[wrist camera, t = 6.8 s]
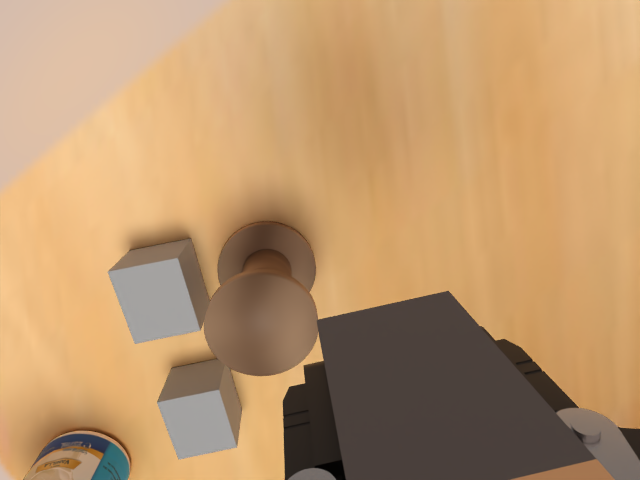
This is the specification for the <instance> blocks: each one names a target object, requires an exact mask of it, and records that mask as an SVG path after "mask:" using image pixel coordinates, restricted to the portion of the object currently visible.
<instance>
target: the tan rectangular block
mask: <svg viewBox="0 0 640 480" xmlns="http://www.w3.org/2000/svg"><path fill="white" fill-rule="evenodd" d="M316 321H317V326H318V332H319V337H320V343H321V348H322V353H323V359H324V364H325V369H326V375H327V380H328V386H329V391H330V396H331V402H332V407H333V413H334V418H335V423H336V429H337V434H338V440H339V445H340V450H341V456H342V461H343V466H344V472H345V477H346V480H615V479H614V478H613V477H612V476H611V475H610V474H609V472H608V471H607V470H606V469H605V468H604V467H603V466H602V465H601V463H600V462H599V461H598V460H597V459H596V458H595V457H594V455H593V454H592V453H591V452H590V451H589V450H588V449H587V448H586V446H585V445H584V444H583V443H582V442H581V441H580V440H579V438H578V437H577V436H576V435H575V434H574V433H573V432H572V431H571V429H570V428H569V427H568V426H567V425H566V424H565V423H564V421H563V420H562V419H561V418H560V417H559V416H558V415H557V413H556V412H555V411H554V410H553V409H552V408H551V407H550V406H549V404H548V403H547V402H546V401H545V400H544V399H543V398H542V396H541V395H540V394H539V393H538V392H537V391H536V390H535V389H534V387H533V386H532V385H531V384H530V383H529V382H528V381H527V379H526V378H525V377H524V376H523V375H522V374H521V373H520V372H519V370H518V369H517V368H516V367H515V366H514V365H513V364H512V362H511V361H510V360H509V359H508V358H507V357H506V356H505V354H504V353H503V352H502V351H501V350H500V349H499V348H498V347H497V345H496V344H495V343H494V342H493V341H492V340H491V339H490V337H489V336H488V335H487V334H486V333H485V332H484V331H483V330H482V328H481V327H480V326H479V325H478V324H477V323H476V322H475V320H474V319H473V318H472V317H471V316H470V315H469V314H468V313H467V311H466V310H465V309H464V308H463V307H462V306H461V305H460V303H459V302H458V301H457V300H456V299H455V298H454V297H453V296H452V294H451V293H450V292H449V291H446V292H441V293H437V294H432V295H428V296H423V297H419V298H414V299H410V300H405V301H401V302H396V303H392V304H387V305H383V306H378V307H374V308H369V309H365V310H360V311H356V312H351V313H347V314H342V315H337V316H333V317H328V318H324V319H319V320H316Z"/></svg>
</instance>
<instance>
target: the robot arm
mask: <svg viewBox="0 0 640 480" xmlns="http://www.w3.org/2000/svg"><path fill="white" fill-rule="evenodd" d="M480 327H481V328H482V330H483V331H484V332H485V333H486V334H487V335H488V336H489V337H490V339H491V340H492V341H493V342H494V343H495V344H496V345H497V347H498V348H499V349H500V350H501V351H502V352H503V353H504V354H505V356H506V357H507V358H508V359H509V360H510V361H511V362H512V364H513V365H514V366H515V367H516V368H517V369H518V370H519V372H520V373H521V374H522V375H523V376H524V377H525V378H526V379H527V381H528V382H529V383H530V384H531V385H532V386H533V387H534V389H535V390H536V391H537V392H538V393H539V394H540V395H541V396H542V398H543V399H544V400H545V401H546V402H547V403H548V404H549V406H550V407H551V408H552V409H553V410H554V411H555V412H556V413H557V415H558V416H559V417H560V418H561V419H562V420H563V421H564V423H565V424H566V425H567V426H568V427H569V428H570V429H571V431H572V432H573V433H574V434H575V435H576V436H577V437H578V438H579V440H580V441H581V442H582V443H583V444H584V445H585V446H586V448H587V449H588V450H589V451H590V452H591V453H592V454H593V455H594V457H595V458H596V459H597V460H598V461H599V462H600V463H601V465H602V466H603V467H604V468H605V469H606V470H607V471H608V472H609V474H610V475H611V476H612V477H613V478H614V479H615V480H640V429H628V428H620V427H617V426H616V425H615V424H614V423H613V422H612V421H611V420H609V419H608V418H606V417H605V416H603V415H601V414H599V413H597V412H594V411H591V410H587V409H582V408H579V407H578V406H577V405H576V404H575V403H574V402H573V401H572V400H571V399H570V398H569V397H568V396H567V395H566V394H565V393H564V392H563V391H562V390H561V389H560V388H559V387H558V386H557V385H556V384H555V383H554V381H553V380H552V379H551V378H550V377H549V376H548V375H547V374H546V373H545V372H542V370H541V368H540V367H539V366H538V365H537V364H536V363H535V362H533V361H532V359H531V358H530V357H529V356H528V355H527V354H526V353H525V352H524V350H523V349H522V348H521V347H519V346H517V345H515V344H513V343H511V342H509V341H507V340H505V339H501V340H497V341H495V340H494V339H493V338H492V336H491V335H490V334H489V333H488V332H487V331H486V330H485V329H484V328H483V327H482V326H480ZM304 375H305V384H300V385H296V386H291V387H289V389H288V391H287V393H286V395H285V397H284V400H283V416H284V418H283V424H284V458H285V480H346V477H345V472H344V466H343V461H342V456H341V450H340V445H339V440H338V434H337V429H336V423H335V418H334V413H333V407H332V402H331V396H330V391H329V386H328V380H327V375H326V369H325V364H324V361H322V362H317V363H313V364H308V365H304Z"/></svg>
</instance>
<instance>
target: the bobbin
mask: <svg viewBox="0 0 640 480" xmlns="http://www.w3.org/2000/svg"><path fill="white" fill-rule="evenodd" d="M315 274H316V267H315V260H314V256H313V252H312V250H311V247H310V246H309V244H308V242H307V241H306V240H305V238H304V237H303V236H302V235H301V234H300V233H298V232H297V231H296V230H294V229H293V228H291V227H289V226H287V225H284V224H281V223H277V222H257V223H253V224H250V225H247V226H245V227H243V228H241V229H239V230H238V231H237V232H235V233H234V234H233V235H232V236H231V237H230V238H229V240H228V241H227V242H226V244H225V246H224V247H223V250H222V252H221V255H220V257H219V262H218V278H219V282H220V285H221V286H220V287H219V288H218V289H217V291H216V292H215V293H214V295H213V297H212V298H211V301H210V303H209V306H208V309H207V311H206V315H205V319H204V333H205V338H206V341H207V343H208V346H209V348H210V349H211V351H212V352H213V354H214V355H215V356H216V357H217V358H218V359H219V360H220V361H221V362H222V363H223V364H225V365H226V366H227V367H229V368H231V369H233V370H235V371H237V372H240V373H243V374H247V375H252V376H269V375H275V374H279V373H282V372H285V371H287V370H289V369H291V368H293V367H295V366H296V365H298V364H299V363H300V362H301V361H302V360H304V359H305V357H306V356H307V355H308V354H309V353H310V351H311V350H312V348H313V346H314V344H315V342H316V339H317V335H318V326H317V321H316V320H318V315H317V309H316V306H315V302H314V300H313V298H312V296H311V294H310V293H309V292H310V290H311V288H312V286H313V283H314V280H315Z"/></svg>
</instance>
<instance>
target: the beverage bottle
mask: <svg viewBox="0 0 640 480" xmlns="http://www.w3.org/2000/svg"><path fill="white" fill-rule="evenodd" d="M129 474H130V461H129V457H128V455H127V453H126V451H125V450H124V448H123V447H122V446H121V445H120V444H119V443H118V442H116V441H115V440H114V439H112V438H110V437H108V436H106V435H104V434H101V433H97V432H93V431H74V432H69V433H65V434H63V435H60V436H58V437H57V438H55V439H53V440H52V441H51V442H49V443H48V444H47V445H46V446H45V448H44V449H43V450H42V452H41V453H40V455H39V456H38V458H37V460H36V461H35V463H34V464H33V466H32V467H31V469H30V470H29V472H28V473H27V474H26V476H25V477H24V479H23V480H128V477H129Z"/></svg>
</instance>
